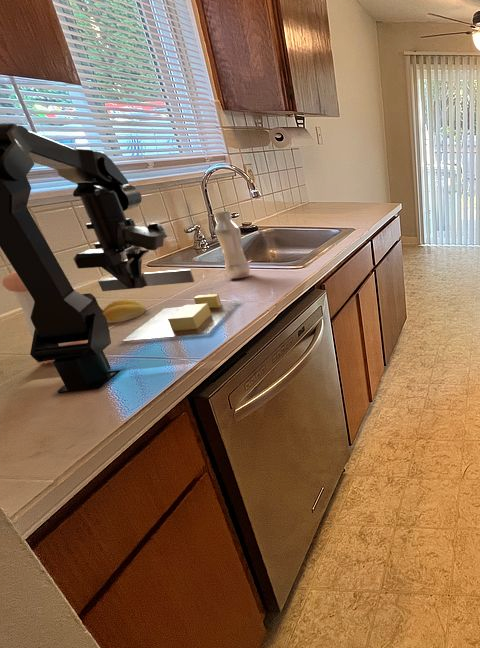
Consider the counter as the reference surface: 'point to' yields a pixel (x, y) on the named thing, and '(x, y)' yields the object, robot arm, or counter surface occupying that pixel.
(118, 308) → the bread roll
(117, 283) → the knife
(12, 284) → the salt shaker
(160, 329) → the board
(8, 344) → the counter surface
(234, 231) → the plastic bottle
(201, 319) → the butter stick
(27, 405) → the counter surface
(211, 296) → the butter slice
